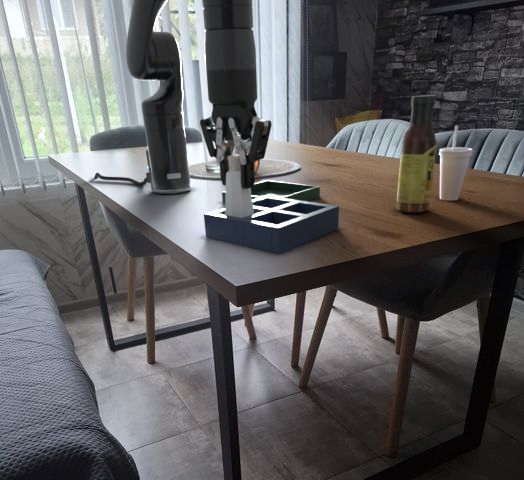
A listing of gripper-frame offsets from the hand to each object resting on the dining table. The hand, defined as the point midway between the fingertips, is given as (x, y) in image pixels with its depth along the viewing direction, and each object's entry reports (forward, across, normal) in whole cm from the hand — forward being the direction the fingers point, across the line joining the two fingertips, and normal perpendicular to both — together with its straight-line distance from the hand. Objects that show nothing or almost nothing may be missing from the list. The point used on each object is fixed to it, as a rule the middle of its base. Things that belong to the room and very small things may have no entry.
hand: (237, 185), depth 80 cm
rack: (+8, -4, -4) cm, 10 cm away
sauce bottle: (+8, -17, -31) cm, 36 cm away
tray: (+8, +13, -24) cm, 28 cm away
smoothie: (+8, -19, -44) cm, 48 cm away
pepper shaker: (+6, 0, 0) cm, 6 cm away
